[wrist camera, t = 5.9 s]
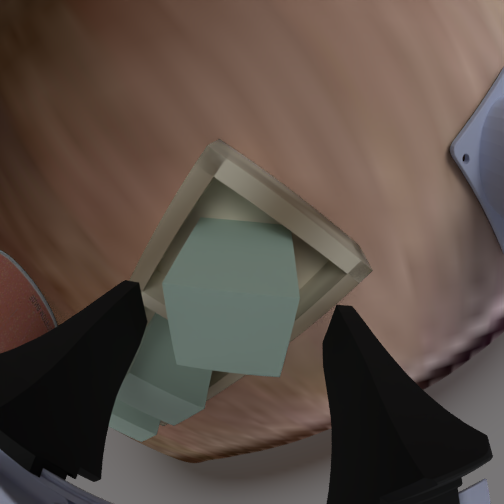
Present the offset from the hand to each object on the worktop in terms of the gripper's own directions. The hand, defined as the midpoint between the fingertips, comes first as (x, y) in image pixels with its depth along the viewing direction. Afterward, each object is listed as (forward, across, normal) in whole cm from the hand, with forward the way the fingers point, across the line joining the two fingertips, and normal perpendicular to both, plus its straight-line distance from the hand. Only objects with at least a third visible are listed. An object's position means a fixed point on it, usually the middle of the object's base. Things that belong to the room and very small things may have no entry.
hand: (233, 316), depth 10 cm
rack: (+4, +4, +6) cm, 8 cm away
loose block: (+4, 0, 0) cm, 4 cm away
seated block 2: (+4, +4, +6) cm, 8 cm away
